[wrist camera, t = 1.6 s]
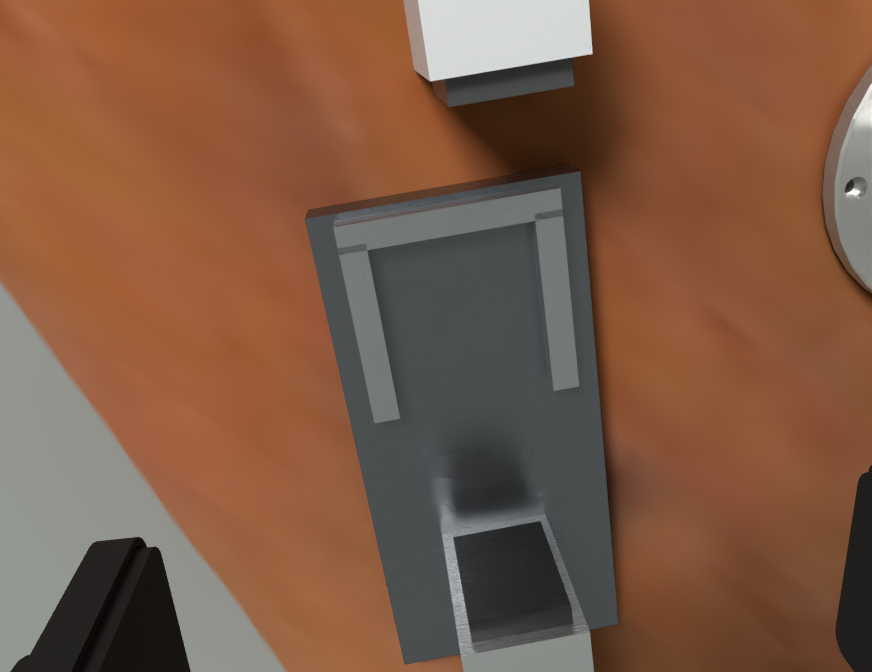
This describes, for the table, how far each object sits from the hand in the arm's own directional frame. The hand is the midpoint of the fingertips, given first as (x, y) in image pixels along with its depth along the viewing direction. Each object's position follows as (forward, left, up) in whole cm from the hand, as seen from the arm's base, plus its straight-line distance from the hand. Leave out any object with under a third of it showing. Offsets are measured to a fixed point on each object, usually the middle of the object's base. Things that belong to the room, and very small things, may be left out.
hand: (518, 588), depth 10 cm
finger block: (-3, -8, -21) cm, 22 cm away
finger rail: (-1, +9, -21) cm, 23 cm away
